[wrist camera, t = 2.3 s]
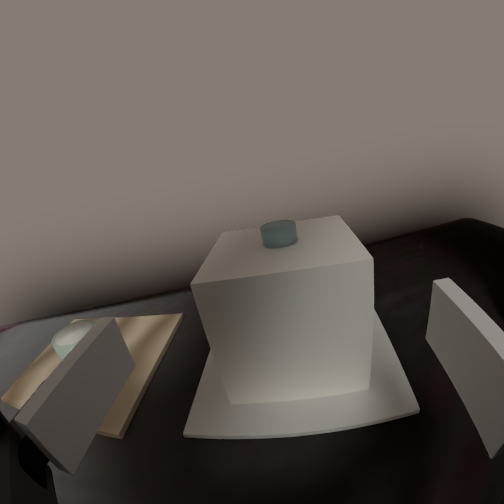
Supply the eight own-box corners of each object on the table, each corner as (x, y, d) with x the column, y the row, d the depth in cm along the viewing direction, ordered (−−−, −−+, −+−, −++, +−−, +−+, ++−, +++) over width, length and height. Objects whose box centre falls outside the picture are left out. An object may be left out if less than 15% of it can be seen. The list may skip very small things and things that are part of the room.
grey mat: (367, 299, 30) (367, 295, 30) (418, 412, 15) (420, 409, 15) (222, 318, 32) (221, 315, 32) (184, 437, 17) (182, 434, 17)
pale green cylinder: (116, 345, 29) (104, 318, 27) (93, 378, 23) (77, 349, 22) (81, 344, 29) (69, 319, 28) (57, 373, 24) (42, 346, 23)
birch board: (183, 317, 34) (182, 313, 34) (122, 439, 17) (118, 434, 17) (75, 322, 36) (74, 319, 36) (3, 402, 20) (0, 398, 19)
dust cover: (346, 315, 27) (336, 200, 24) (369, 388, 18) (372, 236, 14) (245, 328, 29) (219, 219, 25) (230, 404, 19) (184, 264, 16)
